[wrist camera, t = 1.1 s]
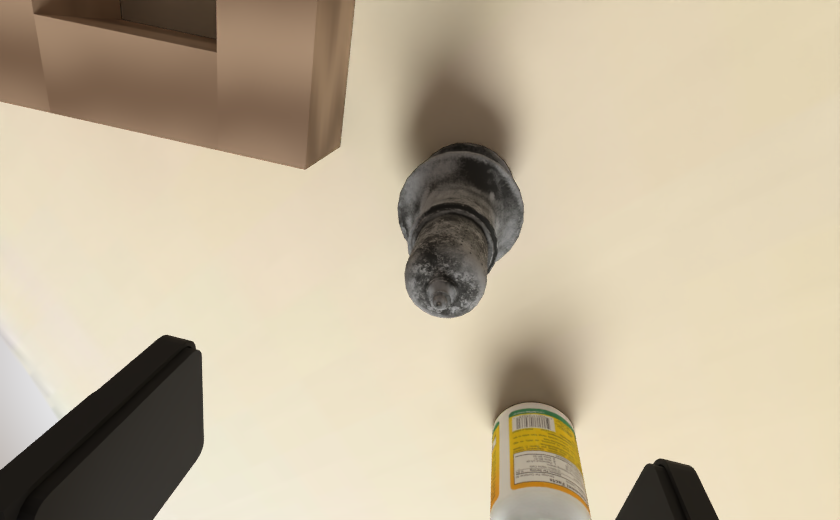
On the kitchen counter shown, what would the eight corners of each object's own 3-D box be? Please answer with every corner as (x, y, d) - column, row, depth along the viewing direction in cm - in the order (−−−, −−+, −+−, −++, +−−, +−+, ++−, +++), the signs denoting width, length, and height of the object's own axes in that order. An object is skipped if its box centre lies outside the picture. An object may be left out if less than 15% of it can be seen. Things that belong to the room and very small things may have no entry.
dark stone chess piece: (421, 249, 27) (370, 389, 16) (399, 147, 24) (321, 230, 14) (526, 236, 25) (547, 379, 14) (513, 127, 23) (527, 200, 12)
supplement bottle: (534, 385, 29) (549, 527, 21) (591, 434, 30) (629, 589, 22) (475, 427, 32) (466, 571, 23) (530, 471, 32) (542, 626, 24)
